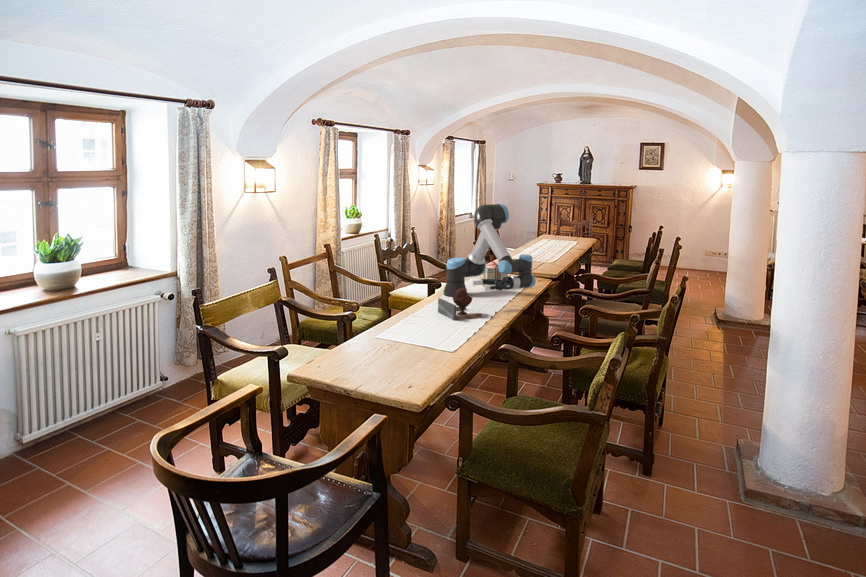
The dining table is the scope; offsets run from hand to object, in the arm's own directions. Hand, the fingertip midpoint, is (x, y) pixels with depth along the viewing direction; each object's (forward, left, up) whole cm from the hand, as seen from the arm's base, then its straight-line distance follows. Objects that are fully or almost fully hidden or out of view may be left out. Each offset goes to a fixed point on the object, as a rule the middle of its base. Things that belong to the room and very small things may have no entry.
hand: (478, 285), depth 335 cm
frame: (-7, -9, -16) cm, 19 cm away
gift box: (-22, +70, -16) cm, 75 cm away
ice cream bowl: (-6, -8, -16) cm, 19 cm away
